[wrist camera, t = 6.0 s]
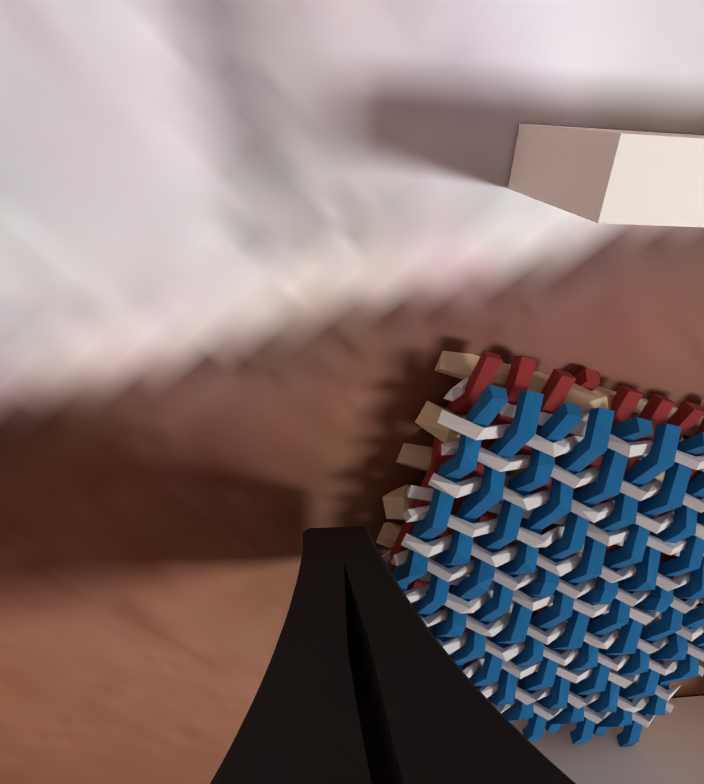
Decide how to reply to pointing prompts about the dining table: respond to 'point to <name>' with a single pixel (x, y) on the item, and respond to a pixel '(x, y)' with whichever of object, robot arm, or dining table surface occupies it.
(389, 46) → the dining table surface
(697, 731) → the frame
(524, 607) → the woven mat
